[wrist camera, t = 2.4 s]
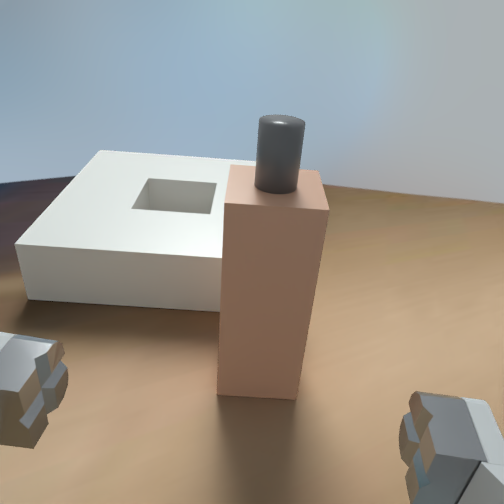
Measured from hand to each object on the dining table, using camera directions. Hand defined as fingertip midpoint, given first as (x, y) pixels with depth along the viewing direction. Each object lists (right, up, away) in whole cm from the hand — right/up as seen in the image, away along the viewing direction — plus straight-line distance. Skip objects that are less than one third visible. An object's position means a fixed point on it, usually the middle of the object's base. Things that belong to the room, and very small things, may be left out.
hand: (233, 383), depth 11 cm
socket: (-6, +4, +29) cm, 30 cm away
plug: (+1, -4, +17) cm, 17 cm away
